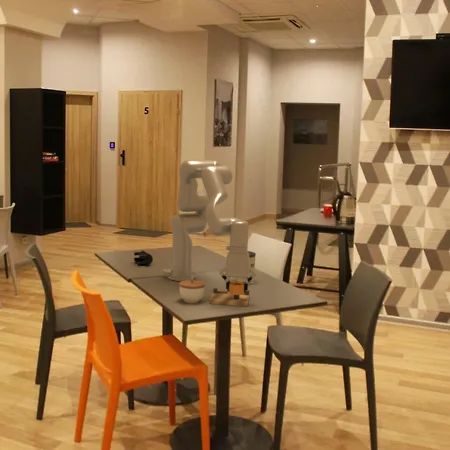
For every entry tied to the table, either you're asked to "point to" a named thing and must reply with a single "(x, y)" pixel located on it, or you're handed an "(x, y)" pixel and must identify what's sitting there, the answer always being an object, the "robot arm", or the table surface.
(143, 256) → the end cap
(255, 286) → the table surface
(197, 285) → the lidded jar
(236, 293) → the orange short cylinder
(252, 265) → the coffee can
